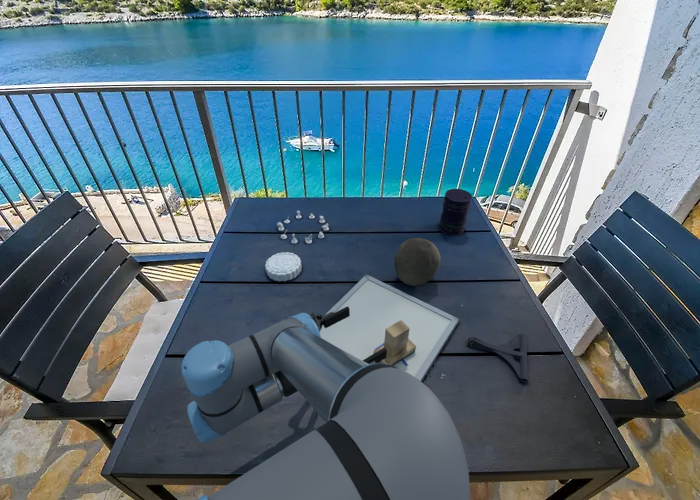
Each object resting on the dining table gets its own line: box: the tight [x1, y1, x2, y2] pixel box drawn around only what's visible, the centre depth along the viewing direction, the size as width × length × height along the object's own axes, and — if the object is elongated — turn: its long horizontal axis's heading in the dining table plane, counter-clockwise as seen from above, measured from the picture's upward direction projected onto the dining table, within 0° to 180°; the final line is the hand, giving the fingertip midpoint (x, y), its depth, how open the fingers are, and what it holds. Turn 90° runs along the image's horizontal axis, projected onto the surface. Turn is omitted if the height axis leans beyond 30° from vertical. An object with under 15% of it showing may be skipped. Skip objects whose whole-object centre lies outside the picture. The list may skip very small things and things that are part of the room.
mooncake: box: [264, 251, 302, 282], centre depth 118 cm, size 12×12×4 cm
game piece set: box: [276, 210, 330, 245], centre depth 136 cm, size 19×20×4 cm
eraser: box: [373, 320, 416, 366], centre depth 87 cm, size 10×5×10 cm, turn 124°
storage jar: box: [438, 188, 473, 236], centre depth 133 cm, size 10×10×15 cm
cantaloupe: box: [393, 237, 442, 287], centre depth 110 cm, size 14×14×15 cm
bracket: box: [467, 333, 529, 383], centre depth 92 cm, size 14×15×3 cm
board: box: [320, 274, 460, 383], centre depth 98 cm, size 30×32×2 cm
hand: (366, 330), depth 76 cm, fingers open, 13 cm apart
